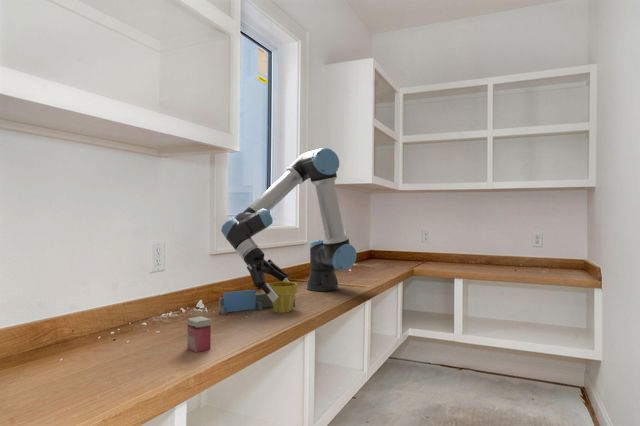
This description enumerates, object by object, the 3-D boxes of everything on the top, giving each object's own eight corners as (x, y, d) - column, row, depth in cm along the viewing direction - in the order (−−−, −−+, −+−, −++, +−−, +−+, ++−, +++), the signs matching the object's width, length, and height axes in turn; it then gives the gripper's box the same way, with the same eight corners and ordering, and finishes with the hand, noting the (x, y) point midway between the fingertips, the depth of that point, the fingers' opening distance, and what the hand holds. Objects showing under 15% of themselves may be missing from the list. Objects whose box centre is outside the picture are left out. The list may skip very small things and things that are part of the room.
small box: (186, 348, 108) (186, 318, 108) (201, 344, 111) (201, 315, 111) (196, 353, 105) (196, 321, 105) (211, 349, 108) (211, 318, 108)
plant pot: (283, 315, 144) (283, 287, 144) (262, 311, 150) (262, 284, 150) (302, 309, 152) (302, 283, 152) (281, 306, 158) (282, 280, 158)
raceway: (289, 303, 163) (289, 285, 163) (295, 305, 159) (295, 287, 159) (219, 311, 149) (219, 292, 149) (223, 314, 144) (223, 294, 144)
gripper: (262, 257, 169) (295, 296, 163) (224, 263, 146) (260, 310, 140) (274, 244, 167) (307, 284, 161) (237, 249, 144) (273, 295, 138)
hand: (285, 296), depth 150 cm, fingers open, 13 cm apart
